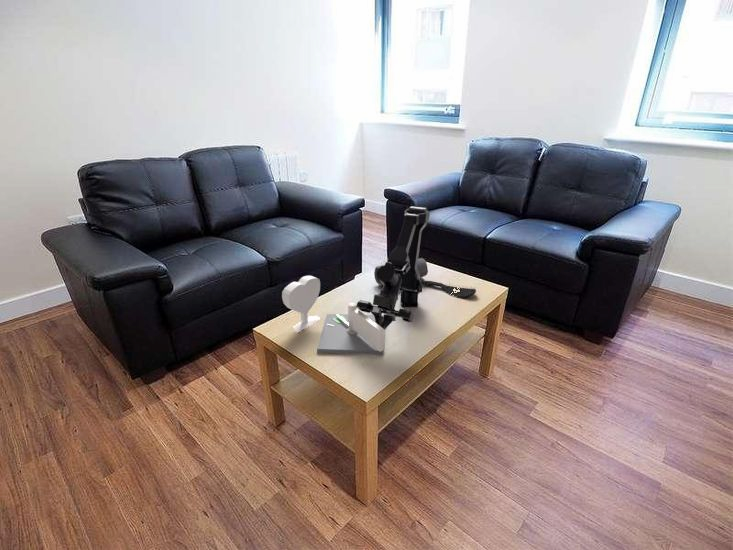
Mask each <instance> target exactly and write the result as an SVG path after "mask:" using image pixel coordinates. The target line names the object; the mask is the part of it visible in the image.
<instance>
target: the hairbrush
mask: <svg viewBox="0 0 733 550" xmlns="http://www.w3.org/2000/svg"><path fill="white" fill-rule="evenodd" d="M421 282H422V286H434V287H435V286H436V287H440V288H441V289H442V290H443V291H444V292H445V291H446V292H445V293H446V294H447V293H449V294H451V293H452V292H453V293H452V294H451V295H450V296H452V295H454V296H457V297H456V298H458V297H461V298H460V299H464V298H468V297H471V296H474V295H475V294H476V292H477V289H476V288H471V287H468V286H465V287H464V285H462V286H461V285H457V286H453V285H452V284H451V283H448V285H447V283H446V284H443V283H440V282H437V281H432V280H424V281H421ZM457 287H459V288H460V289H459V288H458V289H459V290H460V292H457V293H454V291H453V289H454V288H455V289H456V290H458V289H457ZM455 292H456V291H455ZM449 294H448V295H449ZM454 296H453V297H454Z"/></svg>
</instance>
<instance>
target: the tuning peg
mask: <svg viewBox="0 0 733 550" xmlns="http://www.w3.org/2000/svg"><path fill="white" fill-rule="evenodd" d="M356 306H357V302H356V303H355V302H349V303H348V304H347V314H348V322H346V321H345V320H344V319H343V318H342V317H340V316H339V315H338V314H339V313H336V314H337V315H336V317H338V318H339V319H340V320H341V321H342V322H344V323H345V324H346V325H347V326H348V327H349V331H351V332H354V331H356V332H357V333H358V334H359V335H360V336H362V337H363V338H364V339H365V340H366V341H368V342H369V343H370V344H371V345H372V346H374V347H375V348H376V349H377V350H378V351H380V352H381V351H383V352H384V350H385V330H384V329H383V328H382V327H381V326H379V325H378V324H377V323H375V322H374V321H373V320H371V319H370V318H369V317H367V316H366V315H367V314H365V313H363V311H360V310H359V309H358V308H357V307H356Z"/></svg>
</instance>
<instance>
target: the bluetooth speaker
mask: <svg viewBox="0 0 733 550" xmlns="http://www.w3.org/2000/svg"><path fill="white" fill-rule="evenodd" d="M381 266H383V264H381V265H378V266H376V267H375V268H374V274H373V275H374V279H375V282H376V283H377V285H379V286H383V284H382V283H381V281H380V280H379V279H378V277H377V270H378V269H379V268H380V267H381ZM417 269H418V271H419V273H420V279H421V278H424V277H426V276H427V275H428V273H429V271H428V270H429V269H428V263H427V261H426V260H425V259H424V258H423V257H421V258H418V263H417ZM398 275H399V276H400V274H398Z"/></svg>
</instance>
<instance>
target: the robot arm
mask: <svg viewBox="0 0 733 550" xmlns="http://www.w3.org/2000/svg"><path fill="white" fill-rule="evenodd" d="M430 216H431V213H430V211H429V210H428V207H421V206H409V208H406V209H405V210H404V215H403V219H402V220H403V221H402V222H403V224H402V227H401V230H400V233H399V237H398V238H397V239H398V240H397V242H396V246H395V248H394V249H393V250H392V251H390V253H389V255H388V258H387V259H386V260H385V261H384V263H383V264H382V265H383V266H381V265H380V266H381V267H380V268H379V269H378V270H377V277H378V279H379V280H380V281H381V283H382V284H383V285H382V289H381V290H380V292H379V294H374V296H373V301H372V302H370V301H367V300H364V299H363V300H362V299H359V301H357V302H356V304H357V306H356V307H357V309H358V310H359V311H361V312H362V313H363V312H364V313H368V314H370V315H374V317H375V322H376V323H377V324H378V325H379V326H381V327H382V328H383V329H384V331H386V329H387V328H388V327H390V324H392V322H396V320H397V318H398V317H399V318H401V319H402V320H403V322H406V323H407V322H408V323H413V321H414V316H415V315H414V314H413V312H412V311H411V310H408V309H405V308H407V307H408V308H409V307H410V308H411V307H412V308H418V307H419V301H418V299H419V294H420V293H422V292H423V285H422V282H423V281H422V279H421V278H420V273H419V271H418V269H417V263H418V259H419V255H420V247H421V239H422V232H423V230H424V228H426V226H427V224H428V221H429V219H430ZM398 274H400V276H399V275H398ZM399 292H400V298H399V297H398V296H399ZM399 299H400V304H401V307H402V308H399V309H398V310H396V304H397V302H398V300H399ZM403 307H404V308H403ZM382 315H384V317H383V316H382ZM396 317H397V318H396Z"/></svg>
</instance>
